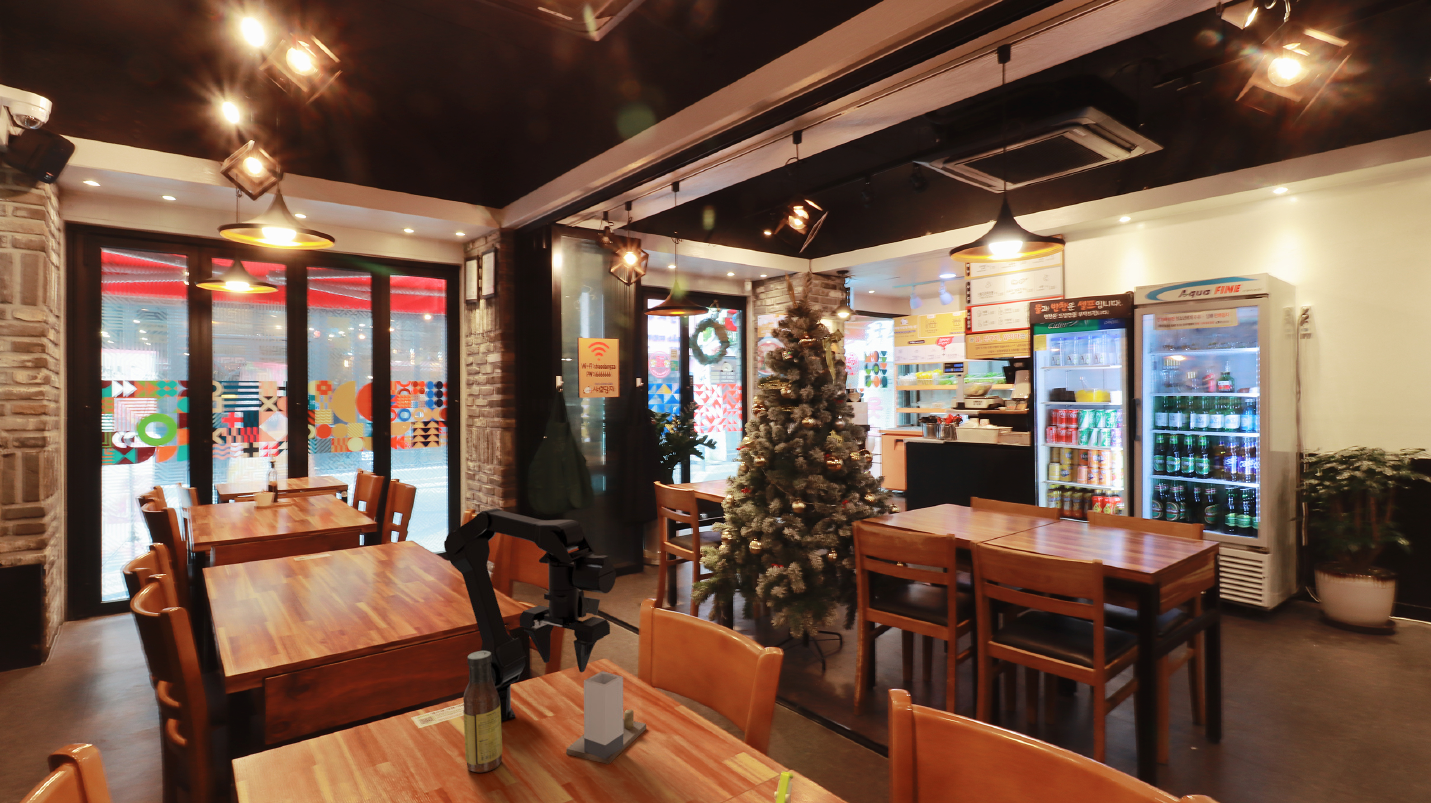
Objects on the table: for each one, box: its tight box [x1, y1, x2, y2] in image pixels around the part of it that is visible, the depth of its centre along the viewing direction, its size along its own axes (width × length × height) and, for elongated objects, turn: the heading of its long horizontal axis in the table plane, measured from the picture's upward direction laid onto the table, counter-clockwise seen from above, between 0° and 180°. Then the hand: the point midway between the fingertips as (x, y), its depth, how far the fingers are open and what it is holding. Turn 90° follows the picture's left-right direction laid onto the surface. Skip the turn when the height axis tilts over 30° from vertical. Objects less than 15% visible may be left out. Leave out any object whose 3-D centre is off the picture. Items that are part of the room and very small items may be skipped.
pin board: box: [565, 709, 647, 765], centre depth 131 cm, size 9×14×4 cm, turn 157°
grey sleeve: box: [583, 670, 624, 759], centre depth 126 cm, size 5×5×13 cm
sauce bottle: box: [462, 650, 503, 774], centre depth 123 cm, size 6×6×20 cm
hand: (564, 666), depth 134 cm, fingers open, 9 cm apart
